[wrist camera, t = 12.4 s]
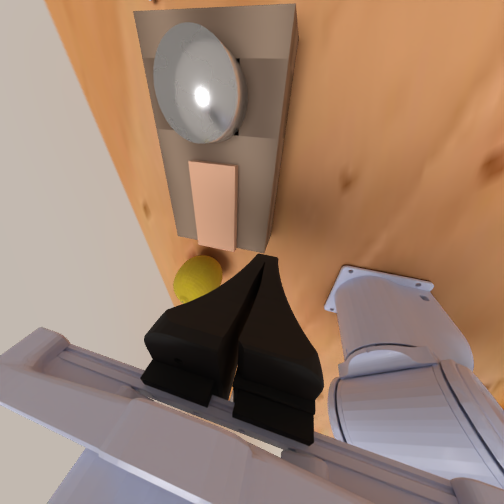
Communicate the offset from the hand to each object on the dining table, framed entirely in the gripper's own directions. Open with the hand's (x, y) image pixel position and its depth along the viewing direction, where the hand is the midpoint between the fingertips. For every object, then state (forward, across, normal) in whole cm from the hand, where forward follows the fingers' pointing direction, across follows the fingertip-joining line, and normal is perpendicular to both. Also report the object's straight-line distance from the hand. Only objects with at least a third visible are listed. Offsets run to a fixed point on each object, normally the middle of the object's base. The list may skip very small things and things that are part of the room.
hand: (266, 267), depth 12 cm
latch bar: (+6, +6, -1) cm, 8 cm away
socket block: (+10, +6, -5) cm, 13 cm away
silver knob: (+9, +6, -9) cm, 14 cm away
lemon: (+10, +9, +9) cm, 16 cm away
